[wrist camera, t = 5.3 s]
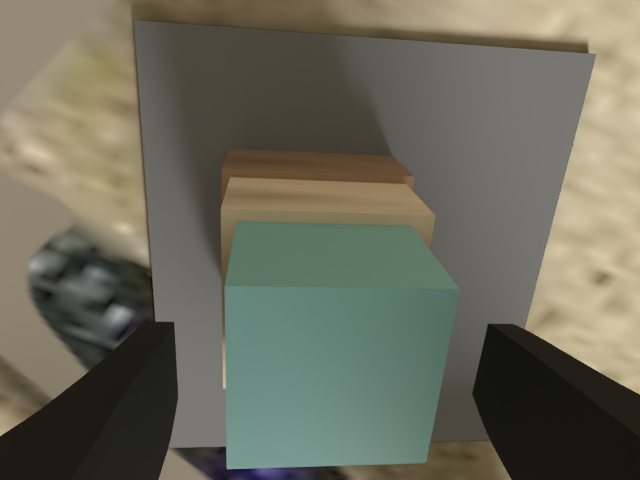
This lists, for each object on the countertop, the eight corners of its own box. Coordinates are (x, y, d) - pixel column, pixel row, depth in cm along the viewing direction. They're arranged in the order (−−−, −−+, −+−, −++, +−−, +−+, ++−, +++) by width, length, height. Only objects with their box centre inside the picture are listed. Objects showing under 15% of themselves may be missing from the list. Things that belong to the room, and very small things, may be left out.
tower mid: (385, 331, 17) (407, 386, 15) (230, 331, 17) (223, 388, 14) (405, 183, 15) (435, 215, 13) (230, 177, 15) (220, 208, 12)
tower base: (375, 297, 20) (391, 337, 17) (230, 295, 20) (223, 337, 17) (392, 155, 18) (414, 176, 15) (229, 148, 17) (221, 168, 15)
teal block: (390, 368, 14) (426, 462, 11) (237, 368, 14) (227, 468, 11) (411, 225, 13) (460, 288, 9) (236, 220, 12) (224, 286, 9)
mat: (491, 434, 24) (495, 440, 24) (166, 441, 23) (164, 447, 22) (589, 53, 18) (596, 53, 17) (137, 20, 16) (133, 19, 15)
